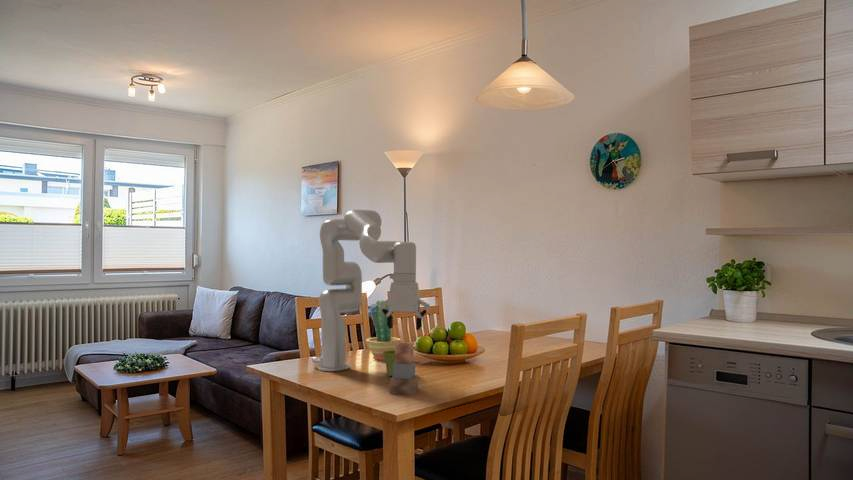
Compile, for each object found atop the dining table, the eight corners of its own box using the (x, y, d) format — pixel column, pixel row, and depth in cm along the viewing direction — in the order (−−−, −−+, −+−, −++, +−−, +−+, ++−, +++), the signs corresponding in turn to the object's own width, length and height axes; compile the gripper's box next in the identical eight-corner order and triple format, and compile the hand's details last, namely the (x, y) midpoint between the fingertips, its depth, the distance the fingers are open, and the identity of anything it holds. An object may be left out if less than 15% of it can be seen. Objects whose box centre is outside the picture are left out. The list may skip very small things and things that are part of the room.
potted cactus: (370, 354, 265) (370, 298, 265) (403, 354, 263) (403, 299, 263) (361, 360, 250) (361, 302, 250) (397, 361, 247) (397, 302, 248)
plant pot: (388, 378, 216) (388, 355, 216) (378, 373, 224) (378, 351, 224) (411, 376, 220) (411, 353, 220) (400, 371, 229) (400, 349, 229)
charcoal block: (392, 378, 195) (392, 363, 195) (398, 374, 201) (398, 360, 201) (409, 379, 194) (409, 364, 194) (415, 375, 200) (415, 361, 200)
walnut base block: (389, 394, 194) (389, 379, 194) (395, 388, 202) (395, 374, 202) (413, 395, 193) (413, 380, 193) (418, 389, 201) (418, 375, 201)
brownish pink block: (395, 363, 196) (395, 345, 196) (399, 360, 201) (399, 342, 201) (409, 363, 195) (409, 345, 195) (413, 361, 200) (413, 343, 200)
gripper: (377, 278, 196) (376, 329, 196) (427, 279, 193) (427, 331, 193) (382, 277, 204) (382, 326, 204) (431, 278, 201) (431, 328, 201)
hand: (404, 328), depth 199 cm, fingers open, 9 cm apart
